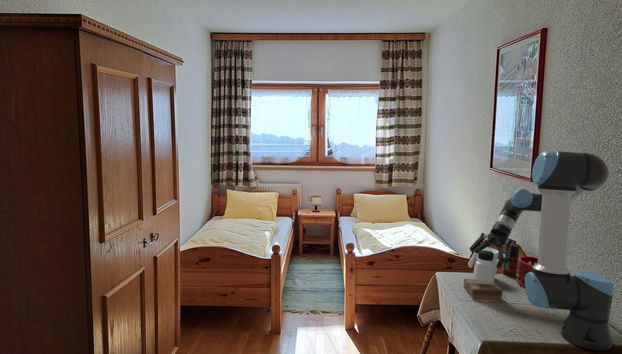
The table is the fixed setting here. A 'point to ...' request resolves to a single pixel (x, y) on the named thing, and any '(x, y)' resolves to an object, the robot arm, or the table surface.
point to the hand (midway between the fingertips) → (480, 269)
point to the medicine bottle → (484, 266)
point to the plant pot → (525, 268)
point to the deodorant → (512, 262)
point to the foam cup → (493, 252)
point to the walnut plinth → (482, 289)
